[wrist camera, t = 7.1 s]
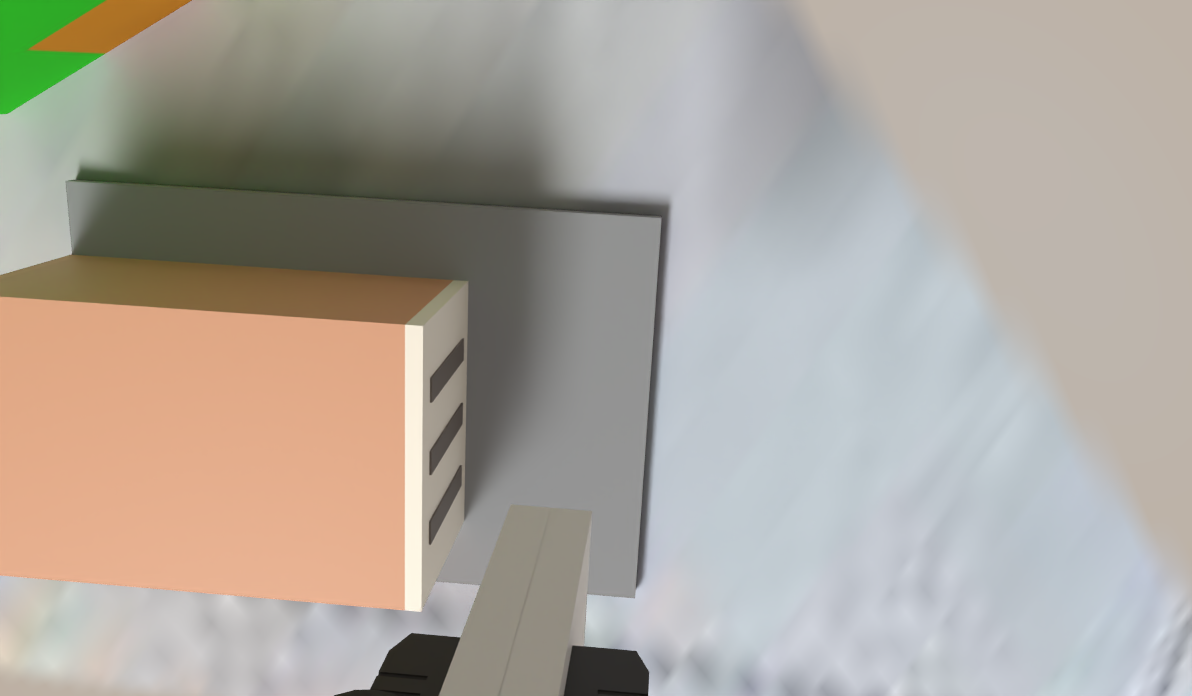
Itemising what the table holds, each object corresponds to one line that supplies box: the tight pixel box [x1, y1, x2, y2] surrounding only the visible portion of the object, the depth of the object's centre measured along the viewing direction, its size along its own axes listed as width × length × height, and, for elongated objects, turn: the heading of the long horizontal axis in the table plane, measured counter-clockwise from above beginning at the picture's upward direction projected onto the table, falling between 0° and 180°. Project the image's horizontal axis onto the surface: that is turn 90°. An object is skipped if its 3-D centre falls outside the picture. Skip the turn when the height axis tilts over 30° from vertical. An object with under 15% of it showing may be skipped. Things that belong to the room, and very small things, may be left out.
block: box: [0, 255, 468, 612], centre depth 25 cm, size 7×5×11 cm
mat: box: [66, 180, 662, 598], centre depth 28 cm, size 11×16×1 cm
